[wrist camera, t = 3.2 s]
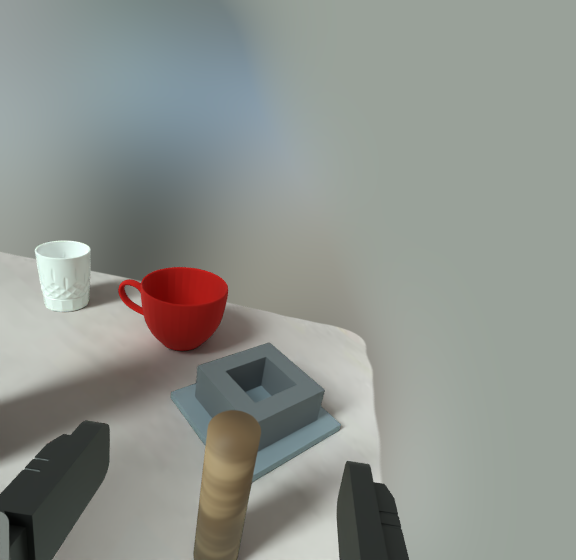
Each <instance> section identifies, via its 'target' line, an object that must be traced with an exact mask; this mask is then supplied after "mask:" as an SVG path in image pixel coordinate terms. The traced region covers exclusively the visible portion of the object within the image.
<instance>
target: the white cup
mask: <svg viewBox="0 0 576 560" xmlns="http://www.w3.org/2000/svg"><path fill="white" fill-rule="evenodd" d="M35 254H36V261H37V267H38V273H39V278H40V283H41V289H42V292H43V297H44V303H45V305H46V307H47V308H48V309H50V310H53V311H58V312H69V311H75V310H78V309H82V308H83V307H85V306H86V305H87V304H88V302H89V289H90V247H89V246H88V245H86V244H83V243H79V242H75V241H53V242H47V243H44V244H41V245H39V246H38V247H36V248H35Z"/></svg>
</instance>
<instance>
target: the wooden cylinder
mask: <svg viewBox="0 0 576 560" xmlns="http://www.w3.org/2000/svg"><path fill="white" fill-rule="evenodd" d="M260 436H261V428H260V425H259V423H258V421H257V420H256V419H255V418H254V417H253V416H251V415H250V414H248V413H246V412H243V411H238V410H229V411H224V412H221V413H219V414H217V415H216V416H214V417H213V418H212V419H211V421H210V422H209V424H208V429H207V438H206V447H205V456H204V464H203V473H202V482H201V491H200V500H199V509H198V518H197V527H196V535H195V544H194V560H237V557H238V552H239V547H240V542H241V536H242V531H243V526H244V520H245V515H246V510H247V505H248V499H249V494H250V489H251V484H252V478H253V473H254V468H255V463H256V457H257V452H258V447H259V442H260Z"/></svg>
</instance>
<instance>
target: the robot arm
mask: <svg viewBox="0 0 576 560" xmlns="http://www.w3.org/2000/svg"><path fill="white" fill-rule="evenodd" d="M109 447H110V429H109V425H108V424H105V423H99V422H93V421H83V422H82V423H81V424H80V425H79V426H78V427H77V428H76V430H75V431H74V432H73V433H72V434H71V435H67V434H63V435H61V436H59V437H58V438H56V439H54V440H53V441H51V442H49V443H48V444H46V446H45V447H44V448H43V449H42V450H41V451H40V452H39V453H38V454H37V455H36V456H35V459H32V461H31V462H30V463H29V464H28V465H27V466H26V467H25V470H22V471H21V472H20V473H19V474H18V476H17V477H16V478H15V479H14V480H13V481H12V482H11V483H10V484H9V485H8V486H7V487H6V488H5V489H4V491H3V492H2V493H1V494H0V560H52V558H53V557H54V555H55V554H56V552H57V551H58V549H59V548H60V546H61V545H62V543H63V542H64V540H65V539H66V537H67V535H68V534H69V532H70V531H71V529H72V528H73V526H74V525H75V523H76V522H77V520H78V519H79V517H80V515H81V514H82V512H83V511H84V509H85V508H86V506H87V505H88V503H89V502H90V500H91V499H92V497H93V496H94V494H95V492H96V491H97V489H98V488H99V486H100V485H101V483H102V482H103V480H104V478H105V476H106V473H107V470H108V466H109ZM337 529H338V544H339V558H340V560H409V557H408V554H407V549H406V545H405V541H404V537H403V533H402V530H401V524H400V520H399V517H398V512H397V508H396V504H395V500H394V497H393V496H392V494H391V493H390V491H389V490H388V488H387V487H386V486H385V484H381V483H375V482H373V478H372V473H371V468H370V465H369V464H364V463H358V462H351V461H347V462H346V464H345V469H344V473H343V477H342V482H341V486H340V491H339V495H338V501H337Z"/></svg>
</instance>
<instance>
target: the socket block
mask: <svg viewBox="0 0 576 560" xmlns="http://www.w3.org/2000/svg"><path fill="white" fill-rule="evenodd" d="M324 391H325V390H324V389H323V388H322V387H321V386H320V385H318V384H317V383H316V382H315V381H314V380H313V379H311V378H310V377H309V376H308V375H307V374H306V373H304V372H303V371H302V370H301V369H300V368H299V367H297V366H296V365H295V364H294V363H293V362H292V361H290V360H289V359H288V358H287V357H286V356H285V355H283V354H282V353H281V352H280V351H279V350H278V349H276V348H275V347H274V346H273V345H272V344H271V343H266V344H263V345H260V346H257V347H254V348H251V349H248V350H245V351H242V352H239V353H235V354H232V355H229V356H226V357H223V358H220V359H217V360H214V361H211V362H208V363H205V364H202V365H199V366H198V368H197V379H196V383H195V384H192V385H190V386H187V387H184V388H181V389H178V390H175V391H173V392H171V399H172V400H173V402H174V403H175V404H176V406H177V407H178V409H179V410H180V411H181V413H182V414H183V415H184V417H185V418H186V420H187V421H188V422H189V424H190V425H191V427H192V428H193V429H194V431H195V432H196V433H197V435H198V436H199V438H200V439H201V440H202V442H203V443H204V445H205V446H206V438H207V429H208V424H209V422H210V421H211V419H212V418H213V417H214V416H216V415H217V414H219V413H221V412H224V411H229V410H238V411H243V412H246V413H248V414H250V415H251V416H253V417H254V418H255V419H256V420H257V421H258V423H259V425H260V428H261V436H260V442H259V447H258V452H257V457H256V463H255V468H254V473H253V478H252V482H253V481H255V480H256V479H258V478H260V477H261V476H263V475H265V474H266V473H268V472H270V471H272V470H273V469H275V468H277V467H278V466H280V465H282V464H283V463H285V462H287V461H288V460H290V459H292V458H293V457H295V456H297V455H298V454H300V453H302V452H303V451H305V450H307V449H308V448H310V447H312V446H314V445H315V444H317V443H319V442H320V441H322V440H324V439H325V438H327V437H329V436H330V435H332V434H334V433H335V432H337V431H339V429H340V426H341V424H340V423H339V422H338V421H337V420H335V419H334V418H333V417H332V416H331V415H330V414H329V413H328V412H327V411H326V410H324V409H323V408H322V407H321V403H322V399H323V395H324Z"/></svg>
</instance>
